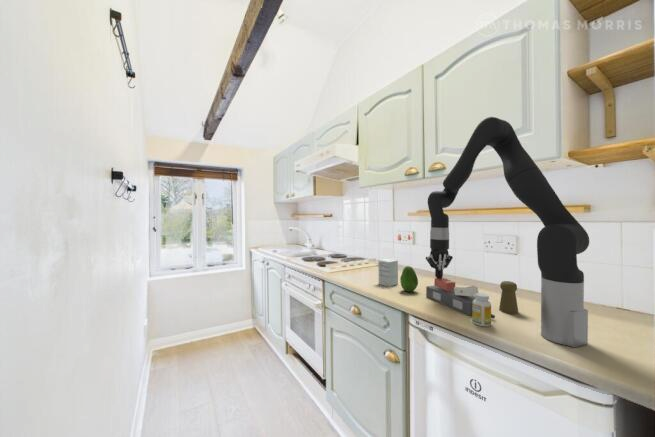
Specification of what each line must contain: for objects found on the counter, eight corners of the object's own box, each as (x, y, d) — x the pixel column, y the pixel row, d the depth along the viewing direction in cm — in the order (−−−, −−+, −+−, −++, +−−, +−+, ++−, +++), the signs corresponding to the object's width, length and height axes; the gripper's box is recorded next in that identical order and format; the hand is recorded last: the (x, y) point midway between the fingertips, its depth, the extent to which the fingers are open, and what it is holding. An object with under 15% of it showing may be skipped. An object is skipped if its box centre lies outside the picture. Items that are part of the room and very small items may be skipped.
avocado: (397, 291, 124) (397, 266, 124) (404, 288, 130) (404, 263, 130) (414, 295, 119) (414, 268, 119) (420, 291, 125) (420, 265, 125)
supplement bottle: (473, 325, 87) (473, 295, 86) (471, 319, 91) (471, 291, 91) (492, 328, 84) (492, 297, 84) (489, 321, 89) (489, 293, 89)
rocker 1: (455, 289, 109) (455, 281, 109) (446, 290, 108) (446, 282, 107) (442, 284, 116) (443, 277, 115) (433, 285, 114) (434, 277, 114)
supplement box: (386, 281, 144) (386, 258, 143) (398, 284, 138) (398, 260, 138) (378, 284, 139) (377, 259, 139) (389, 286, 133) (389, 261, 133)
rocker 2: (479, 294, 98) (477, 286, 99) (469, 296, 97) (467, 287, 97) (464, 293, 105) (462, 285, 105) (454, 294, 103) (453, 286, 104)
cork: (499, 312, 98) (499, 282, 97) (498, 307, 103) (498, 279, 103) (519, 315, 95) (519, 284, 95) (517, 309, 100) (517, 280, 100)
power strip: (502, 318, 92) (502, 305, 92) (484, 322, 89) (484, 308, 89) (441, 295, 119) (441, 284, 119) (426, 296, 116) (426, 286, 116)
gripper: (433, 239, 108) (432, 281, 109) (458, 238, 113) (457, 278, 113) (421, 237, 115) (420, 277, 116) (445, 236, 120) (444, 274, 120)
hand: (439, 277), depth 115 cm, fingers closed
